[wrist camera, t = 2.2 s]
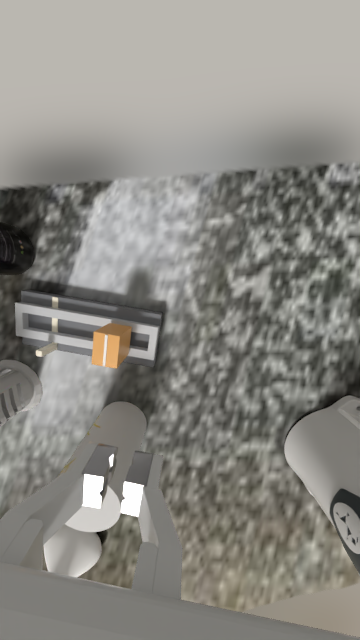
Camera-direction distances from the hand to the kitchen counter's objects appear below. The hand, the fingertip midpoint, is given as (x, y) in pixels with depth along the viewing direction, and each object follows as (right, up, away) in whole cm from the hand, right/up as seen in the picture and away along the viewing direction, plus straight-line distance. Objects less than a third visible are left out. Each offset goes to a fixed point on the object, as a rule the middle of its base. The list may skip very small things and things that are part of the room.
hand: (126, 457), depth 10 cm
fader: (-5, +5, +17) cm, 18 cm away
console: (-10, +6, +19) cm, 22 cm away
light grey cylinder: (-7, -10, +23) cm, 26 cm away
